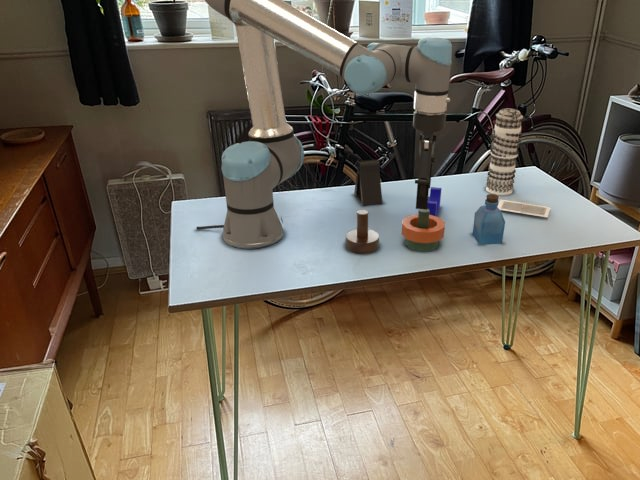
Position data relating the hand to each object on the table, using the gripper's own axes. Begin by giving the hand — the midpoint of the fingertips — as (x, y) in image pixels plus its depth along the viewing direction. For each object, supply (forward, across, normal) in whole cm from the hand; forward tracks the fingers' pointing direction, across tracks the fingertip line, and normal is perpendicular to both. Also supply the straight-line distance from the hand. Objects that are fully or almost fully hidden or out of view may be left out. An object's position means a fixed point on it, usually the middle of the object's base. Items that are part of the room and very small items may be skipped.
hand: (423, 197), depth 145 cm
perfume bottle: (+13, +6, -18) cm, 22 cm away
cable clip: (+13, +19, -2) cm, 23 cm away
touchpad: (+13, +26, -29) cm, 41 cm away
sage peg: (+13, 0, -1) cm, 13 cm away
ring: (+10, 0, -1) cm, 10 cm away
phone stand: (+13, +27, +17) cm, 35 cm away
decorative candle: (+13, +42, -23) cm, 49 cm away
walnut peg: (+13, -4, +14) cm, 20 cm away
